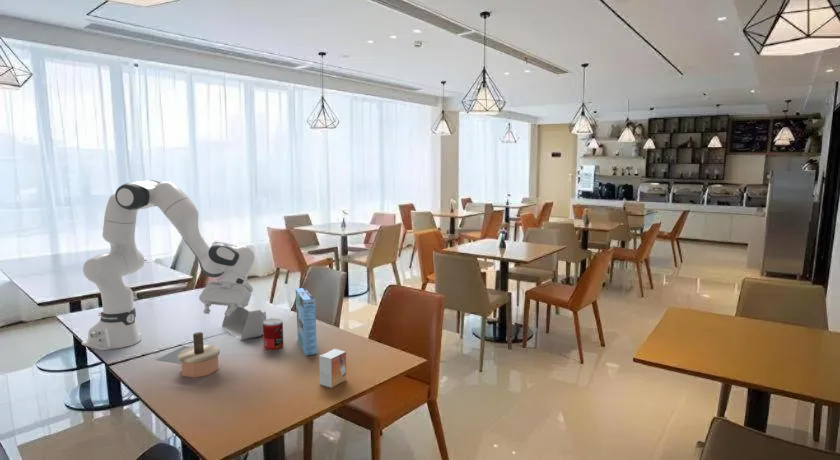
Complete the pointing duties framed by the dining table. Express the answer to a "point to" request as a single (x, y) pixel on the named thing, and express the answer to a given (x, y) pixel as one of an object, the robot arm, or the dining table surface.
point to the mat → (172, 356)
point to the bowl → (199, 368)
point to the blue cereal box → (306, 321)
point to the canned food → (273, 334)
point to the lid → (198, 351)
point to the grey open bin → (245, 322)
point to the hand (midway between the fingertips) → (216, 314)
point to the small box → (332, 368)
